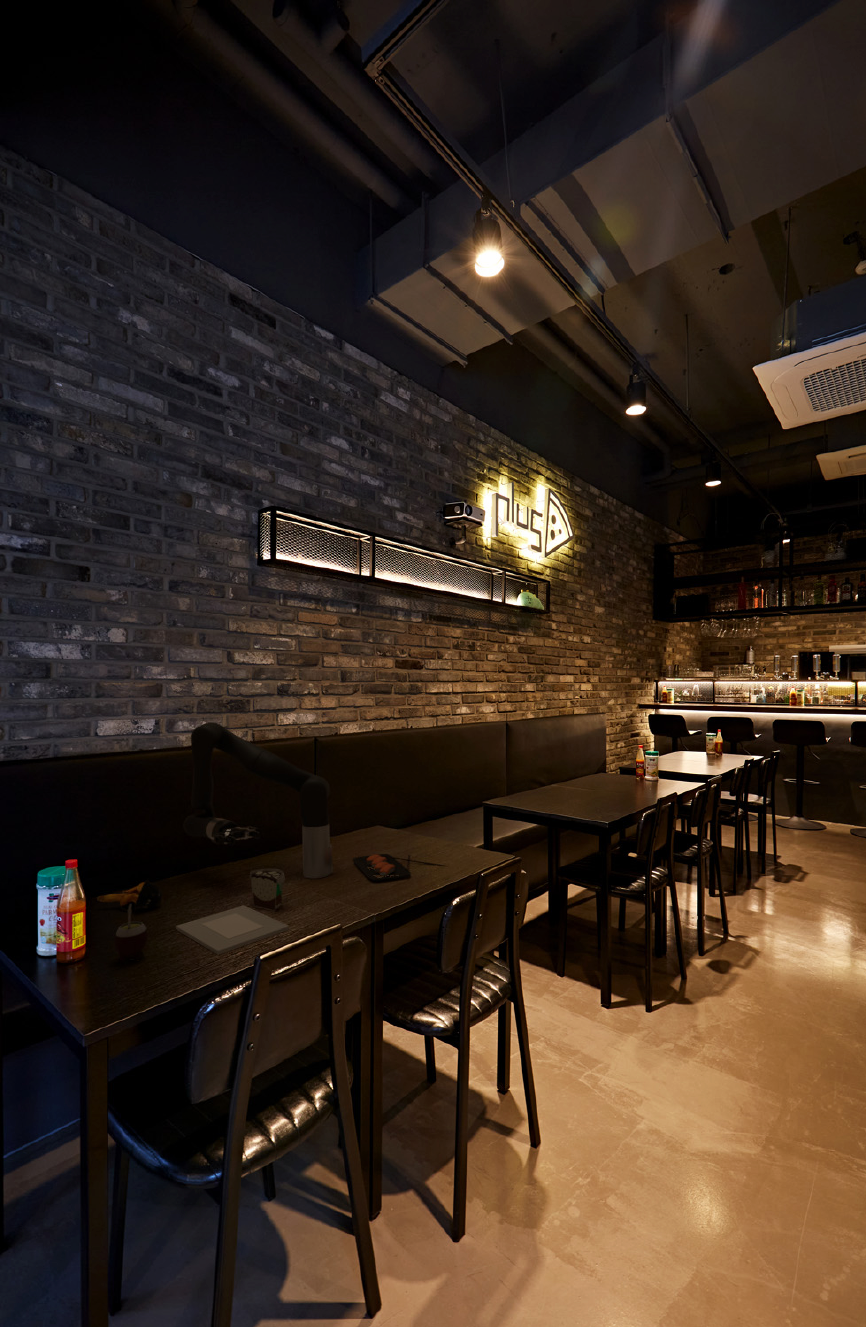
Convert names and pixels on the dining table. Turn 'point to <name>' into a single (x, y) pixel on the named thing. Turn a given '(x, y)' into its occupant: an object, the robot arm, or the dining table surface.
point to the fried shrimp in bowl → (136, 897)
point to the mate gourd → (130, 939)
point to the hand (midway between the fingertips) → (246, 838)
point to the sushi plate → (384, 866)
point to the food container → (267, 888)
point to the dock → (231, 929)
